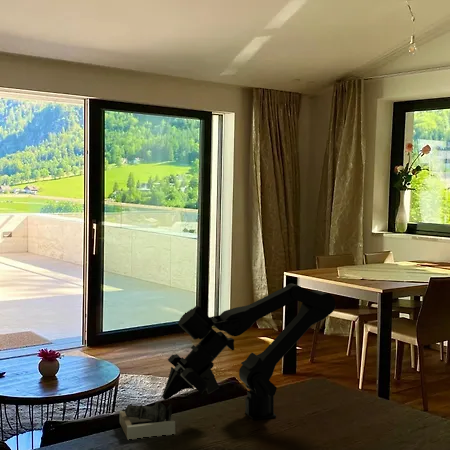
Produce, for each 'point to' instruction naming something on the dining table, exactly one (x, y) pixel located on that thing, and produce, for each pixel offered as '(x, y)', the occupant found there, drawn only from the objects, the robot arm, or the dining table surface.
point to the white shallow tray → (145, 427)
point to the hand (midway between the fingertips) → (163, 398)
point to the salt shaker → (150, 412)
